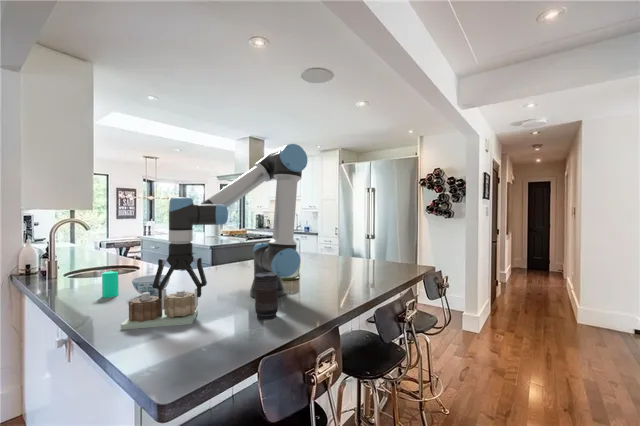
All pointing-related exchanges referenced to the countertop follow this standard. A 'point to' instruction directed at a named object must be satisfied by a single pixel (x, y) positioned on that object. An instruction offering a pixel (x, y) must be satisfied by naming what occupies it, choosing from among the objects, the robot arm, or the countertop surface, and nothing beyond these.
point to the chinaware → (147, 284)
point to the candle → (109, 284)
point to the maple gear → (179, 304)
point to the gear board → (160, 321)
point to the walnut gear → (145, 309)
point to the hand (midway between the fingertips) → (180, 307)
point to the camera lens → (266, 295)
